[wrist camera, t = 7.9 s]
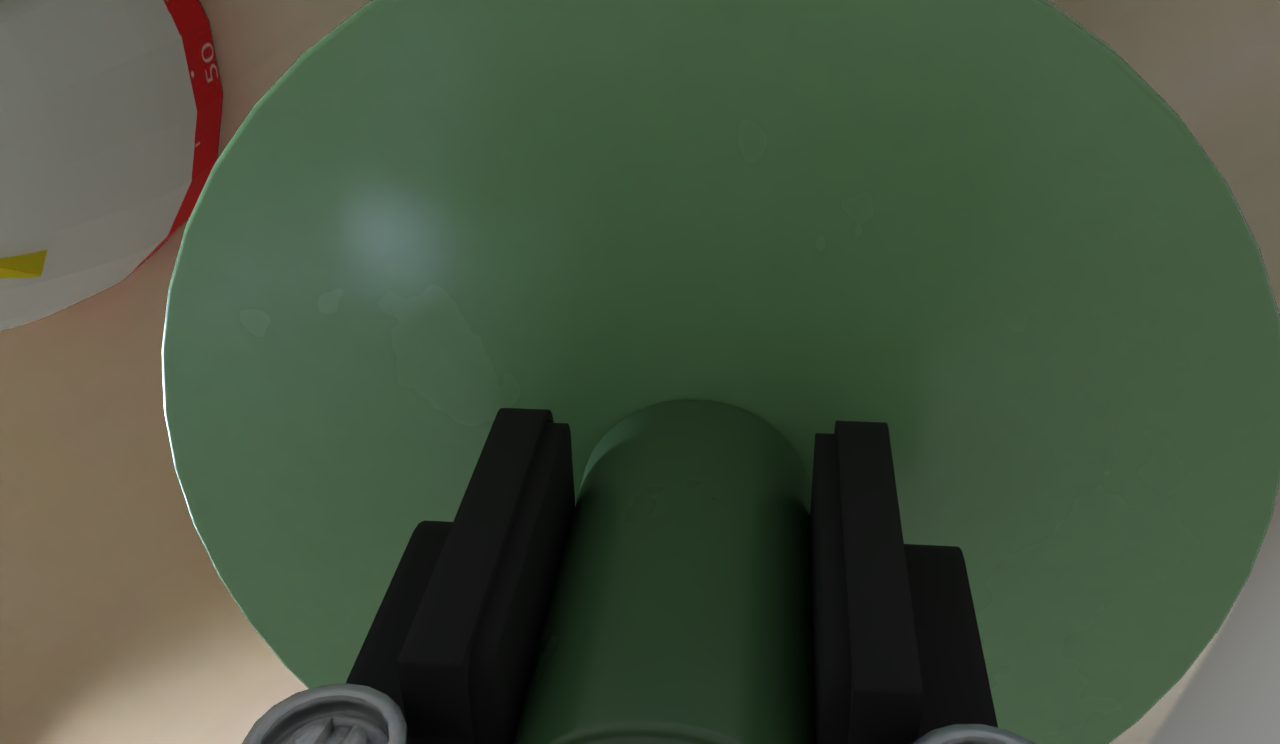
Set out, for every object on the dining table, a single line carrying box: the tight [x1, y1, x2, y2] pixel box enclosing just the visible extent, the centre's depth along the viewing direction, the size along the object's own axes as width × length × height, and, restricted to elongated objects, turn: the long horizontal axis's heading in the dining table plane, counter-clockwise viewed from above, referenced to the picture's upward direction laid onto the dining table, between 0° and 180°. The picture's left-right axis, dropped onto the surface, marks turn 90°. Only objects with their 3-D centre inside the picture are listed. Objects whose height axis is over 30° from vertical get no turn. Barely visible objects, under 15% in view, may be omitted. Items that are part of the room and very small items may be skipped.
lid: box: [161, 0, 1280, 744], centre depth 12 cm, size 13×13×6 cm
